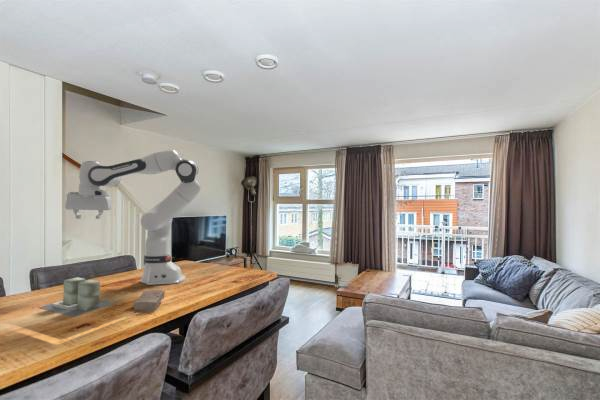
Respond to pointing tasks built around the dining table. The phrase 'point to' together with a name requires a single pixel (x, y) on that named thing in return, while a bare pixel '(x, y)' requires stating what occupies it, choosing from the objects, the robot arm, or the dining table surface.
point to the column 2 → (88, 295)
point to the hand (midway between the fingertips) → (88, 218)
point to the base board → (73, 308)
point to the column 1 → (71, 291)
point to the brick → (149, 301)
